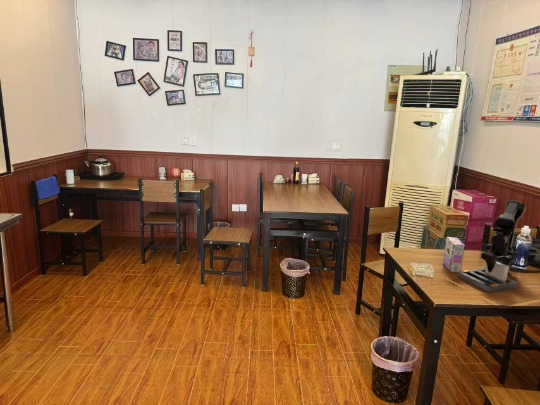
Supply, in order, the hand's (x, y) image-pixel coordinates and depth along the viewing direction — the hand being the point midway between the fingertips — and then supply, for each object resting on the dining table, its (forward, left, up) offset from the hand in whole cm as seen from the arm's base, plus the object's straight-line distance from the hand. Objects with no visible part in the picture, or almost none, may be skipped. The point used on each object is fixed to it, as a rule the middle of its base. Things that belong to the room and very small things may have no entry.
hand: (496, 271), depth 183 cm
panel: (0, 0, -6) cm, 6 cm away
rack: (+6, 0, -7) cm, 9 cm away
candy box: (+7, -21, -7) cm, 23 cm away
